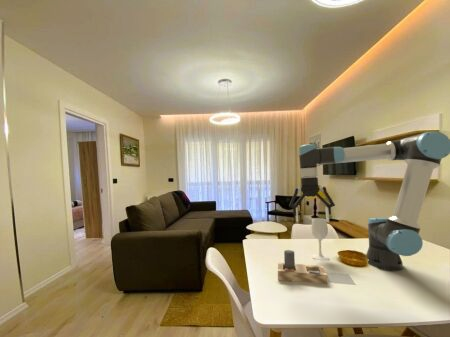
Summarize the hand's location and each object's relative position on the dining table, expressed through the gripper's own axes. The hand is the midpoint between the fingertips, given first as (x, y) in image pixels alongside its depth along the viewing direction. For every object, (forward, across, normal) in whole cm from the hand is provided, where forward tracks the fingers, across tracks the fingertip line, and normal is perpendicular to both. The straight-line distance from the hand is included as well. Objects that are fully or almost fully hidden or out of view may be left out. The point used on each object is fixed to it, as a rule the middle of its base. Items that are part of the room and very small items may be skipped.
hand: (312, 221), depth 104 cm
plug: (+23, +12, +7) cm, 27 cm away
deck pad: (+24, -9, +6) cm, 26 cm away
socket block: (+23, +7, +7) cm, 25 cm away
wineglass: (+24, -5, -18) cm, 30 cm away
